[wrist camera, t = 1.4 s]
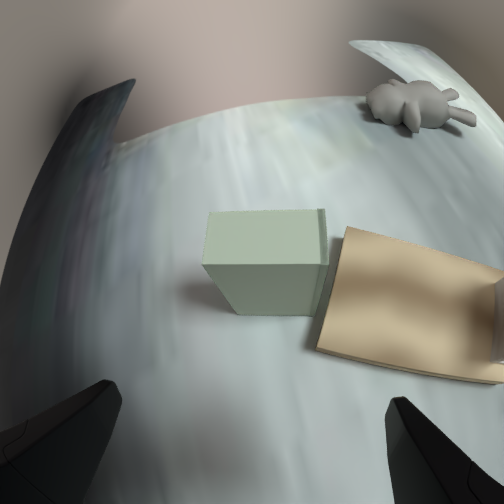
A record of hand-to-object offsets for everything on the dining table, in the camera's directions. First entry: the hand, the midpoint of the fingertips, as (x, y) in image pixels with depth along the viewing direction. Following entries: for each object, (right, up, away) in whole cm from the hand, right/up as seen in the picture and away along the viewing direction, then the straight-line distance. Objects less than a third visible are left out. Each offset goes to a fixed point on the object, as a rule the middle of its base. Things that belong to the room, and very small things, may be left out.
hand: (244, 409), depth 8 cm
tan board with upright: (+15, 0, +13) cm, 20 cm away
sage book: (+2, +1, +15) cm, 15 cm away
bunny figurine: (+23, +23, +23) cm, 40 cm away
